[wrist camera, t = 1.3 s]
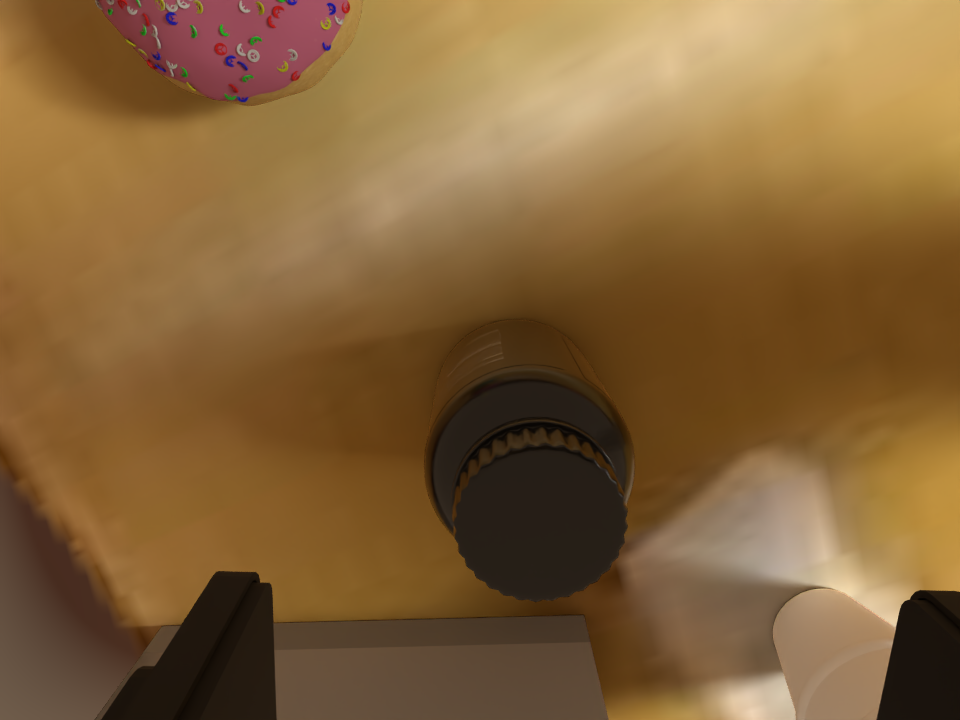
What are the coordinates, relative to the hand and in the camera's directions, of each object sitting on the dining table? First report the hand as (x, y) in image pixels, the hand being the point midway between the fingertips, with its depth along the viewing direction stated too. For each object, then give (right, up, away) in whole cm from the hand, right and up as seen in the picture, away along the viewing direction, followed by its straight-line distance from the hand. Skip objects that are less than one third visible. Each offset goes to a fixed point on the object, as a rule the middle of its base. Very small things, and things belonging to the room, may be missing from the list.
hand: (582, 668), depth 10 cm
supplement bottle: (0, +3, +20) cm, 21 cm away
